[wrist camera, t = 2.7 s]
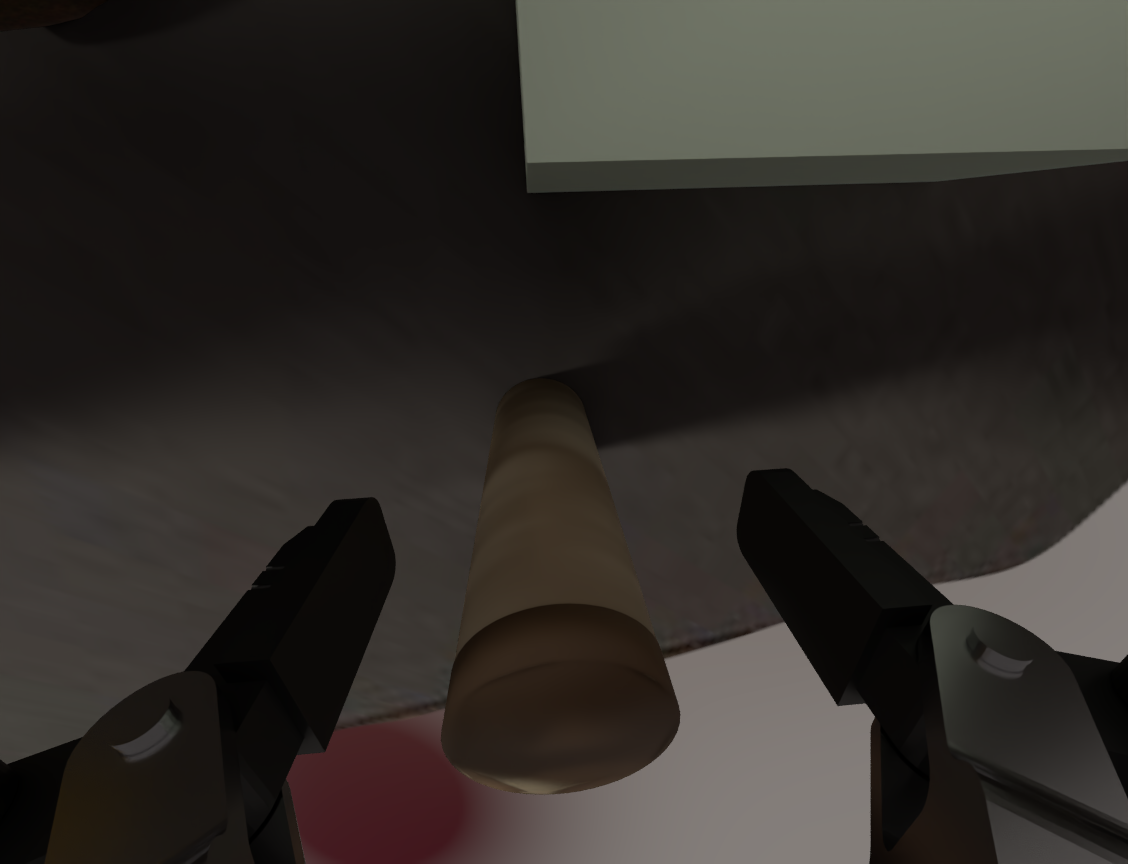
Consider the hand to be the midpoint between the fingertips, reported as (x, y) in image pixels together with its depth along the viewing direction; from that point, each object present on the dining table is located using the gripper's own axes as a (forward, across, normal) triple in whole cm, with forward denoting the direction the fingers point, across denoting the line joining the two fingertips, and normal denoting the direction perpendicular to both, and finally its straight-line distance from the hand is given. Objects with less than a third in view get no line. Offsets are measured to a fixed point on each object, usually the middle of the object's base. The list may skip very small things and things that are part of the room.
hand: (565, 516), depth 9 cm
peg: (+6, 0, 0) cm, 6 cm away
